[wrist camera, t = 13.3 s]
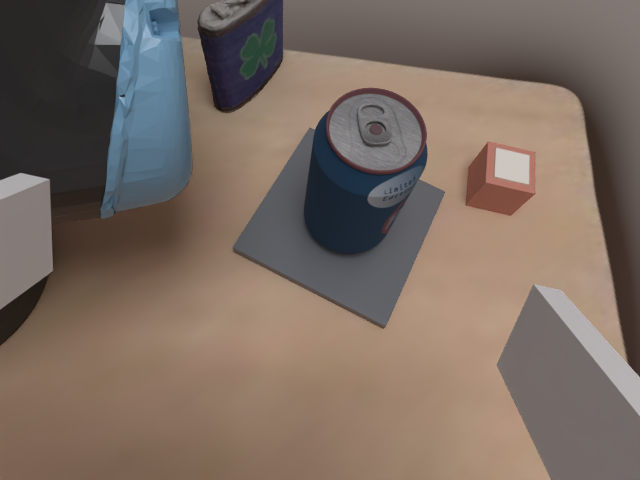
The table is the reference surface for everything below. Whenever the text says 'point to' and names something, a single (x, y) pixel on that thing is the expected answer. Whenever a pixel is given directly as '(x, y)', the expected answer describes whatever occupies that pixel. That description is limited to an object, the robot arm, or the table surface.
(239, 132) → the table surface
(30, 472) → the table surface
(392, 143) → the soda can
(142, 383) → the table surface
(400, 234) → the plate
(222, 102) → the flask
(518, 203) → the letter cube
